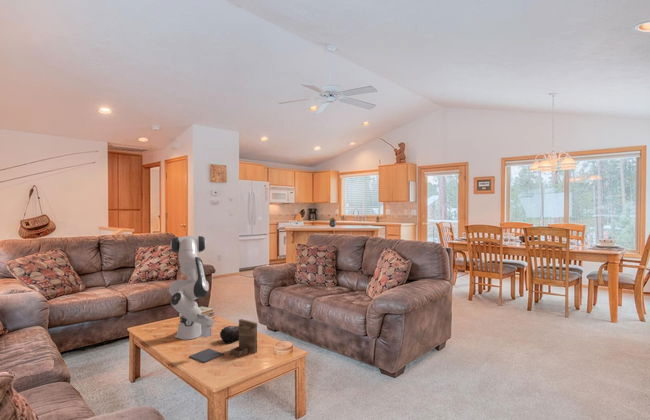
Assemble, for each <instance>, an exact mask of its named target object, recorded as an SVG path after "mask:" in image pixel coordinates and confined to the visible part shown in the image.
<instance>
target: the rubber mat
mask: <svg viewBox="0 0 650 420" xmlns="http://www.w3.org/2000/svg"><path fill="white" fill-rule="evenodd" d="M223 356H224V353H223V352H220V351H217V350H215V349H213V348H212V349H211V348H210V347H209V348H206V349H204V350H201V351H198V352H196V353H193V354H191V355H189V356H188V358H189V359H193V360H195V361H198V362H200V363H203V364H206V363H207V362H208V363H209V361H213V360H215V359H217V358H220V357H223Z"/></svg>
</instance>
